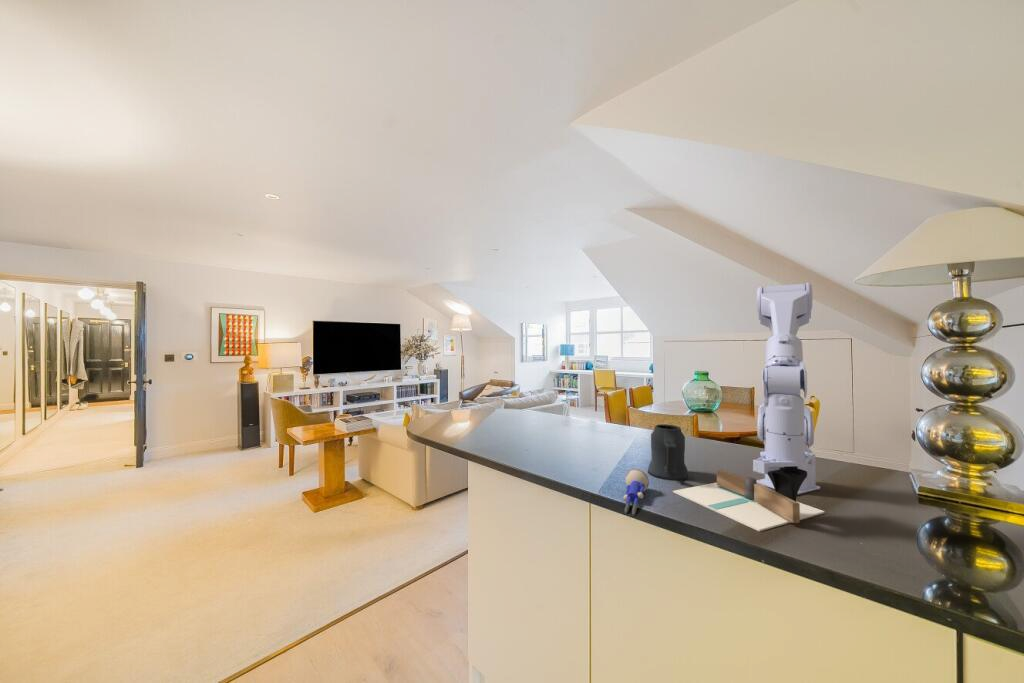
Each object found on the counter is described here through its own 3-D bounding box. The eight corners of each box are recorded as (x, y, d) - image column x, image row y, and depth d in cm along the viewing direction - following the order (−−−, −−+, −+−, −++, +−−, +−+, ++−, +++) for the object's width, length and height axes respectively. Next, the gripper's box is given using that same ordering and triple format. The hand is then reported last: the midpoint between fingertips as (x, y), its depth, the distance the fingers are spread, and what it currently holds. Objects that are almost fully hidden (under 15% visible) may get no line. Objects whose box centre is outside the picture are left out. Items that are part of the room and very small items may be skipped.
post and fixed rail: (722, 487, 81) (721, 467, 81) (759, 501, 74) (758, 479, 74) (715, 488, 80) (715, 468, 80) (752, 503, 73) (752, 481, 73)
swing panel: (754, 500, 72) (754, 483, 72) (760, 500, 72) (760, 483, 72) (792, 522, 63) (792, 503, 63) (799, 522, 63) (799, 503, 63)
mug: (646, 466, 95) (646, 421, 95) (685, 469, 93) (685, 424, 93) (649, 482, 84) (649, 432, 84) (694, 487, 81) (694, 434, 81)
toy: (646, 524, 66) (653, 484, 80) (636, 499, 66) (645, 463, 80) (620, 527, 68) (631, 487, 82) (611, 503, 68) (624, 467, 82)
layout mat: (732, 480, 85) (732, 478, 85) (824, 512, 69) (824, 510, 69) (672, 492, 78) (672, 490, 78) (759, 531, 62) (759, 529, 62)
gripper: (786, 425, 74) (787, 494, 74) (736, 431, 68) (737, 506, 68) (827, 432, 68) (829, 508, 67) (776, 439, 62) (777, 522, 62)
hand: (785, 508), depth 67 cm, fingers closed, pressing on swing panel
